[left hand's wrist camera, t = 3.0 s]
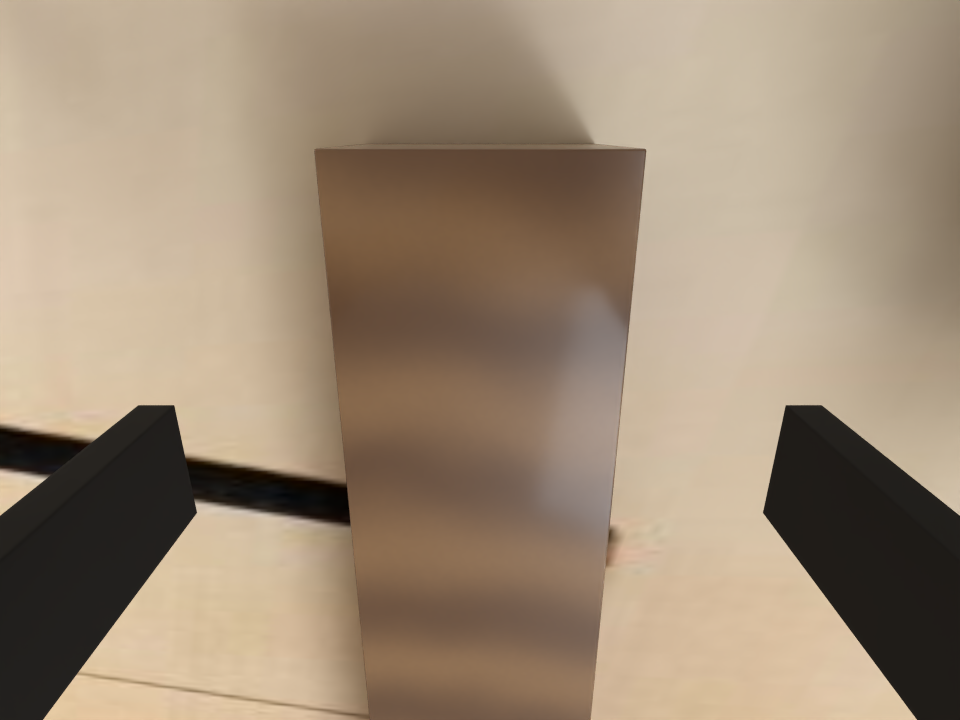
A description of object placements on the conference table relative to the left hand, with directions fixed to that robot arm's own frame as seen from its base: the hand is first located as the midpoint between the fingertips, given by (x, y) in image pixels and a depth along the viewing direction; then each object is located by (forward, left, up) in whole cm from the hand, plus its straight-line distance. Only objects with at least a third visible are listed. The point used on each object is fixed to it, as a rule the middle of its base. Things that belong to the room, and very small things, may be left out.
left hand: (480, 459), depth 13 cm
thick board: (+23, +25, -13) cm, 36 cm away
